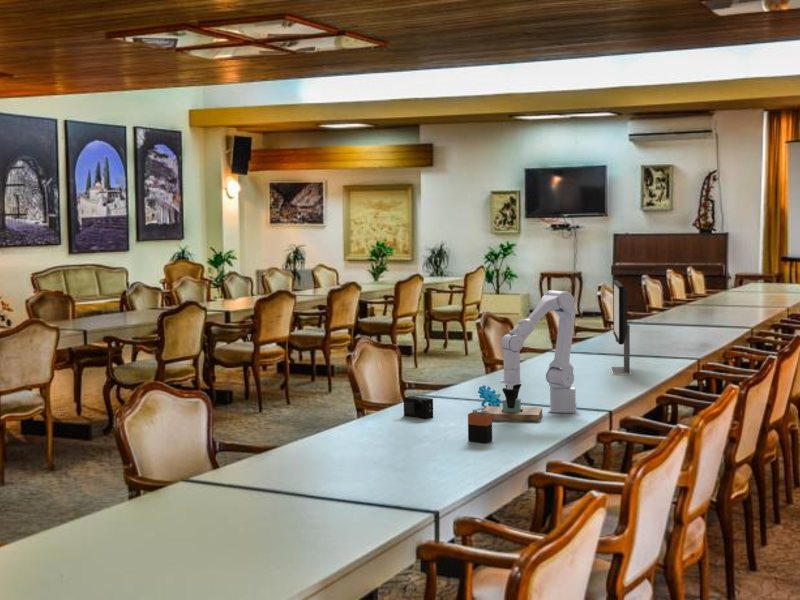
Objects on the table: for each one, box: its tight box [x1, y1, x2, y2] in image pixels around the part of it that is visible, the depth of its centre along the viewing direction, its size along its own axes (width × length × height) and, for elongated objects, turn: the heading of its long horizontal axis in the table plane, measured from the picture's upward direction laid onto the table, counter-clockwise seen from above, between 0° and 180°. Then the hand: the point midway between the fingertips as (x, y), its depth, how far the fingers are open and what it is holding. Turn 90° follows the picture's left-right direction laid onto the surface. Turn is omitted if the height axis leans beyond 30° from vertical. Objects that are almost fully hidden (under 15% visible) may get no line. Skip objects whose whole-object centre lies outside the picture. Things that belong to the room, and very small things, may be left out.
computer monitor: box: [609, 279, 632, 376], centre depth 474 cm, size 41×8×40 cm, turn 172°
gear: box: [477, 385, 502, 407], centre depth 399 cm, size 11×6×10 cm
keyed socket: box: [484, 405, 543, 423], centre depth 375 cm, size 20×14×2 cm
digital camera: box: [403, 395, 434, 420], centre depth 379 cm, size 10×5×7 cm, turn 50°
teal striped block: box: [502, 397, 522, 412], centre depth 375 cm, size 6×4×6 cm, turn 78°
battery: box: [467, 409, 493, 444], centre depth 337 cm, size 4×7×10 cm, turn 58°
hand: (512, 406), depth 374 cm, fingers open, 7 cm apart
